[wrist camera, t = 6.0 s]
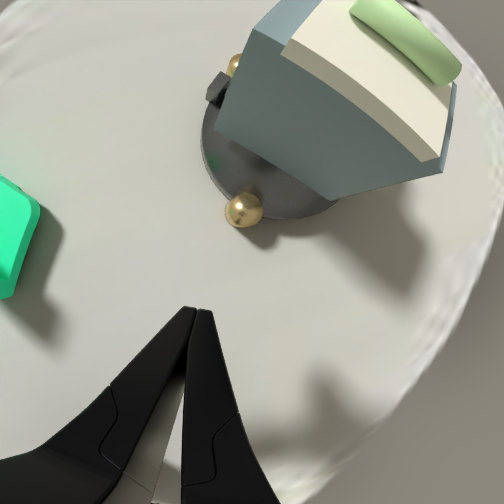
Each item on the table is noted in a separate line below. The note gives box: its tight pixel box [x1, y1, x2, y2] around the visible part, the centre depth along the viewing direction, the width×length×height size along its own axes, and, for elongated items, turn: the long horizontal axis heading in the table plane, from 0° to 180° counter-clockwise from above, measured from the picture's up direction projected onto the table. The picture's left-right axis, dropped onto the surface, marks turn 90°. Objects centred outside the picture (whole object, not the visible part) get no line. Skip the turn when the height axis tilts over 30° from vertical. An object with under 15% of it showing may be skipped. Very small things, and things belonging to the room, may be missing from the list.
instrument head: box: [213, 0, 462, 201], centre depth 13 cm, size 10×10×13 cm
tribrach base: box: [201, 54, 340, 227], centre depth 20 cm, size 13×13×4 cm
